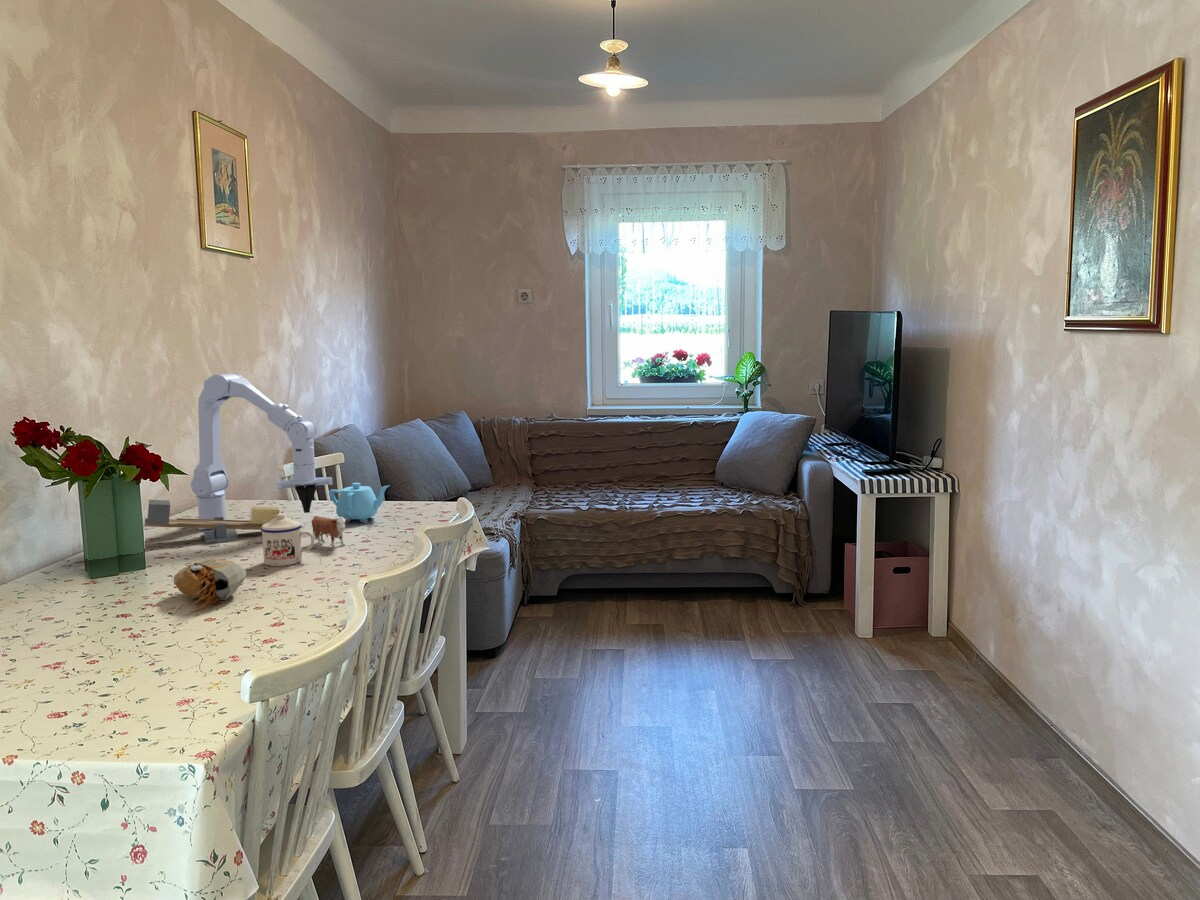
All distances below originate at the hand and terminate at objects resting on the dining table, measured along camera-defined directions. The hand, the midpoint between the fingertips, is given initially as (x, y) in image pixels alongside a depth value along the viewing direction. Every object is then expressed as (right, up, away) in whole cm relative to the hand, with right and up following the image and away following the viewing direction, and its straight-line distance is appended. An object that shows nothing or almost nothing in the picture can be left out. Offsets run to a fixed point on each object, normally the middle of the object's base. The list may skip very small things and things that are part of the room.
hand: (306, 512), depth 252 cm
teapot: (+12, -3, +11) cm, 17 cm away
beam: (-20, -3, -10) cm, 23 cm away
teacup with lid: (+7, -10, -36) cm, 38 cm away
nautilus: (+1, -14, -66) cm, 68 cm away
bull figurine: (+13, -8, -20) cm, 25 cm away
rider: (-10, -3, -5) cm, 12 cm away
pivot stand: (-20, -6, -9) cm, 23 cm away
